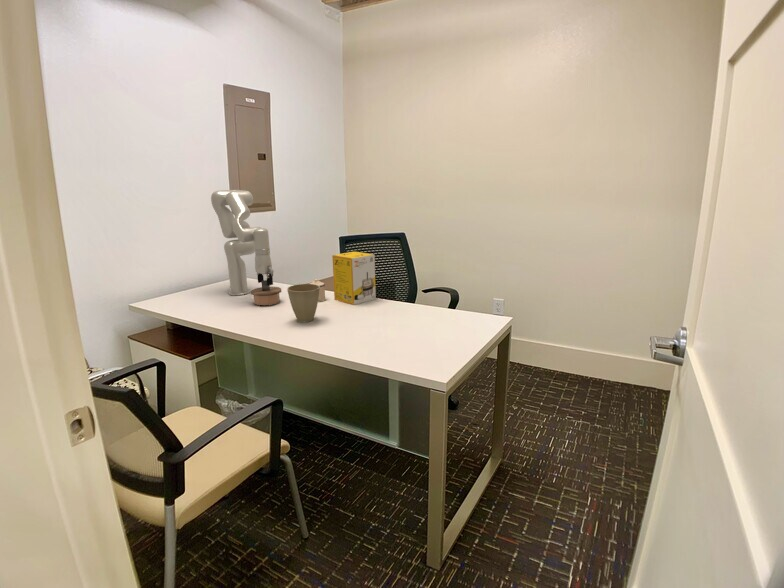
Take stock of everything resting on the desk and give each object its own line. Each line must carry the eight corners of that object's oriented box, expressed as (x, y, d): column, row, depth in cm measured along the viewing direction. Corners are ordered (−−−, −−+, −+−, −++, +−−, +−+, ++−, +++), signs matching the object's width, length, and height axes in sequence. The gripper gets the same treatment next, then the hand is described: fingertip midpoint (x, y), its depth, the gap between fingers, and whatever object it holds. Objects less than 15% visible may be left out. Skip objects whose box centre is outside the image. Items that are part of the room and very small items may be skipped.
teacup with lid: (329, 299, 244) (328, 278, 241) (316, 302, 237) (315, 281, 234) (314, 296, 251) (313, 276, 248) (302, 299, 244) (300, 279, 242)
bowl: (251, 303, 239) (249, 292, 237) (271, 298, 247) (270, 288, 246) (262, 307, 230) (261, 296, 229) (283, 302, 239) (282, 291, 237)
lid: (245, 292, 237) (244, 281, 236) (271, 287, 248) (270, 276, 247) (260, 297, 226) (259, 286, 225) (287, 291, 237) (286, 280, 236)
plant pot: (286, 325, 202) (283, 291, 198) (293, 315, 216) (291, 283, 212) (318, 324, 201) (316, 291, 197) (323, 315, 216) (322, 283, 212)
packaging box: (356, 294, 254) (354, 251, 248) (375, 299, 243) (374, 254, 237) (334, 299, 243) (332, 255, 236) (353, 305, 232) (351, 258, 225)
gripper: (248, 251, 235) (251, 282, 239) (264, 254, 223) (267, 287, 228) (260, 249, 240) (263, 280, 245) (277, 252, 228) (280, 284, 233)
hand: (265, 283), depth 236 cm, fingers open, 9 cm apart
